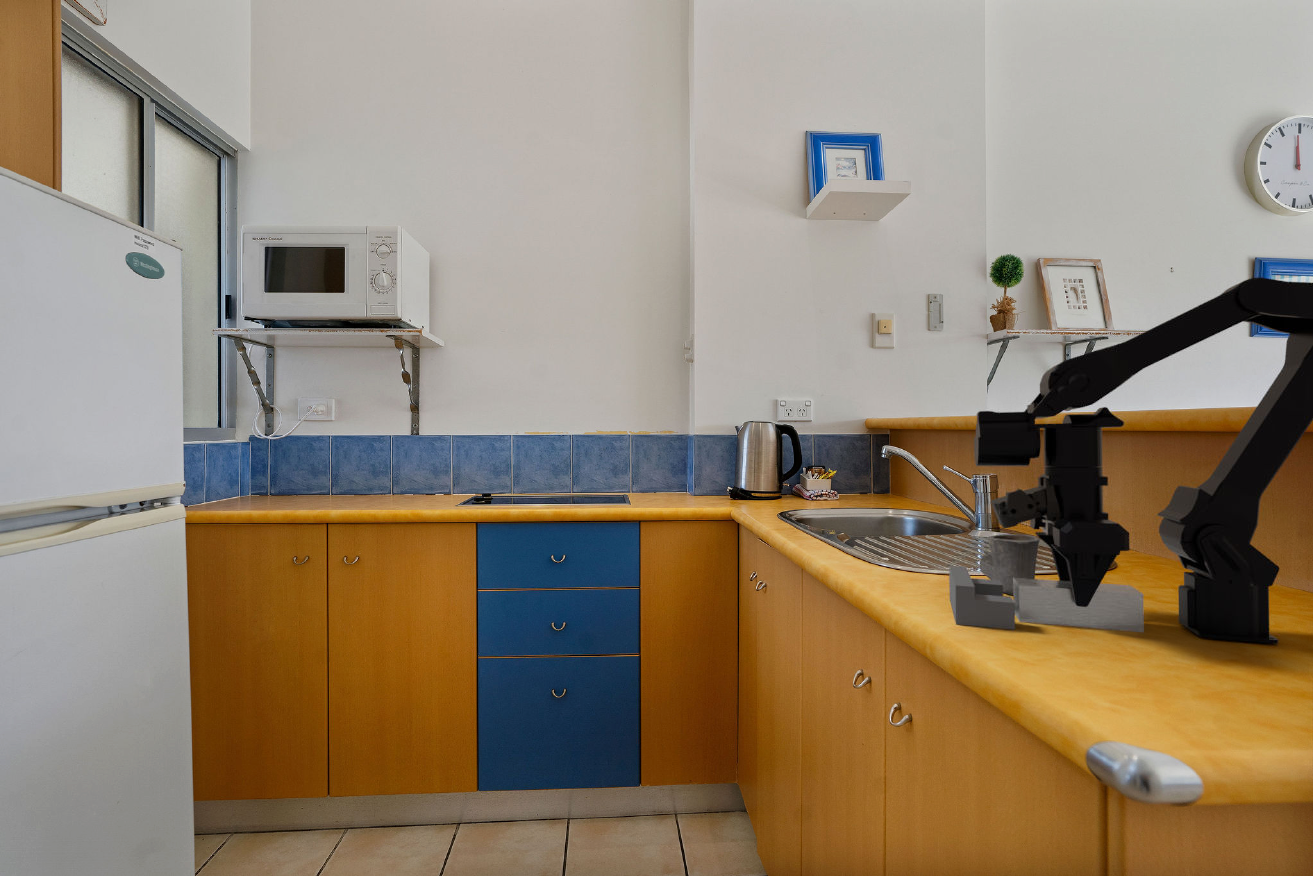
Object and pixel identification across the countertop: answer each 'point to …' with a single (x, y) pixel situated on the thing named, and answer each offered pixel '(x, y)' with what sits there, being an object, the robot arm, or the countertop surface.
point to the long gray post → (1058, 606)
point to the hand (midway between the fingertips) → (1074, 599)
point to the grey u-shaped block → (979, 601)
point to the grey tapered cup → (1010, 559)
